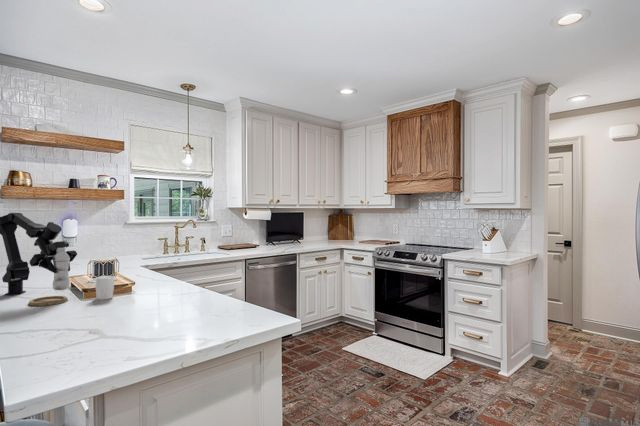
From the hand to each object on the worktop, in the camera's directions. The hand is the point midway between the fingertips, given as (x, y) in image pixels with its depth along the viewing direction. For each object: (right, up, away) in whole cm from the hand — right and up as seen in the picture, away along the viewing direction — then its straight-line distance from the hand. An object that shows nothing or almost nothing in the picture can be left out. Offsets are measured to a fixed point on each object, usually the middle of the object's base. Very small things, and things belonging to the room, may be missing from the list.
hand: (62, 271), depth 170 cm
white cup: (+17, -14, +5) cm, 22 cm away
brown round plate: (-3, -13, -4) cm, 14 cm away
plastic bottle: (-1, -9, +1) cm, 9 cm away
